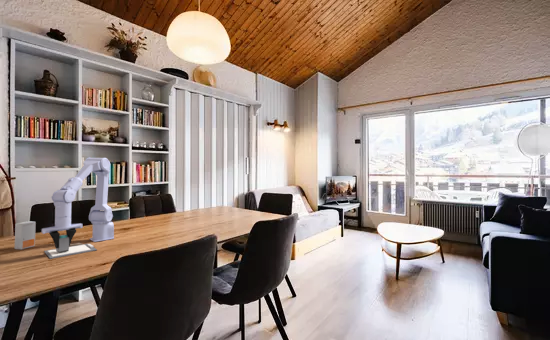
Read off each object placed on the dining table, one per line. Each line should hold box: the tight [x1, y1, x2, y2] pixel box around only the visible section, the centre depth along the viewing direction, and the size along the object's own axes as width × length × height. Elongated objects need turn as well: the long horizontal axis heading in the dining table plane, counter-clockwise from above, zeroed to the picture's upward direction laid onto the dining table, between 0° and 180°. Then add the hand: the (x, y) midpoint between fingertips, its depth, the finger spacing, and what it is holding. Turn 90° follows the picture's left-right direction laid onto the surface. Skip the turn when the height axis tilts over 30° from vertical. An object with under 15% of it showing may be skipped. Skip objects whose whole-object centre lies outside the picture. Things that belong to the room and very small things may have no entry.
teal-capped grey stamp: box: [55, 234, 69, 253], centre depth 120 cm, size 4×4×7 cm
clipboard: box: [43, 243, 98, 260], centre depth 124 cm, size 17×14×1 cm
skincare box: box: [14, 220, 37, 250], centre depth 127 cm, size 6×4×12 cm
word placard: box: [69, 241, 83, 247], centre depth 133 cm, size 6×4×1 cm, turn 139°
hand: (62, 246), depth 120 cm, fingers closed on teal-capped grey stamp, 4 cm apart
